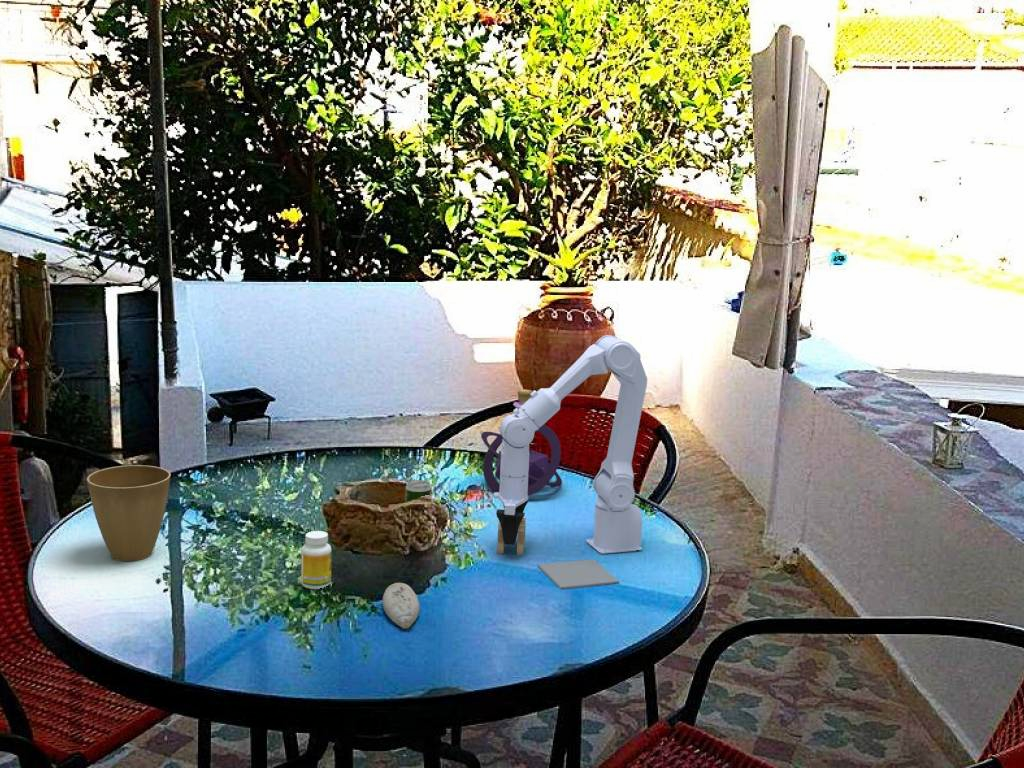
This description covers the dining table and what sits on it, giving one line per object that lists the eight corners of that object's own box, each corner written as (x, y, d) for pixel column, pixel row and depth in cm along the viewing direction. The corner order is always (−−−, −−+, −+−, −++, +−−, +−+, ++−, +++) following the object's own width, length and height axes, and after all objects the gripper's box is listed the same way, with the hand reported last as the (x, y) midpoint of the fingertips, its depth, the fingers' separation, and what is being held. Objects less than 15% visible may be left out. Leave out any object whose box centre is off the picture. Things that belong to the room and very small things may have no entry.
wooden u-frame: (499, 544, 206) (501, 516, 205) (524, 546, 206) (526, 517, 205) (497, 553, 201) (498, 524, 200) (522, 555, 201) (523, 525, 200)
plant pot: (76, 553, 192) (73, 473, 189) (149, 537, 202) (147, 461, 200) (112, 575, 182) (109, 491, 179) (186, 556, 193) (185, 476, 190)
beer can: (411, 544, 204) (413, 488, 202) (399, 536, 209) (401, 481, 207) (434, 540, 207) (436, 485, 205) (422, 532, 212) (423, 478, 210)
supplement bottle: (298, 581, 183) (298, 531, 181) (326, 577, 185) (327, 528, 183) (305, 591, 178) (305, 540, 176) (334, 587, 180) (335, 537, 179)
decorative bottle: (459, 489, 245) (462, 389, 240) (507, 472, 262) (511, 379, 258) (534, 507, 233) (539, 403, 228) (580, 488, 250) (586, 391, 245)
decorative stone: (389, 634, 163) (389, 614, 162) (377, 597, 177) (378, 579, 177) (426, 631, 164) (426, 612, 164) (411, 595, 179) (412, 577, 178)
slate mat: (593, 561, 199) (593, 559, 199) (619, 583, 188) (619, 581, 188) (537, 566, 195) (537, 564, 195) (560, 589, 184) (560, 587, 184)
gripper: (498, 463, 208) (495, 525, 211) (490, 482, 194) (487, 548, 196) (532, 465, 208) (529, 527, 210) (526, 484, 193) (523, 551, 196)
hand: (511, 538), depth 203 cm, fingers open, 7 cm apart
